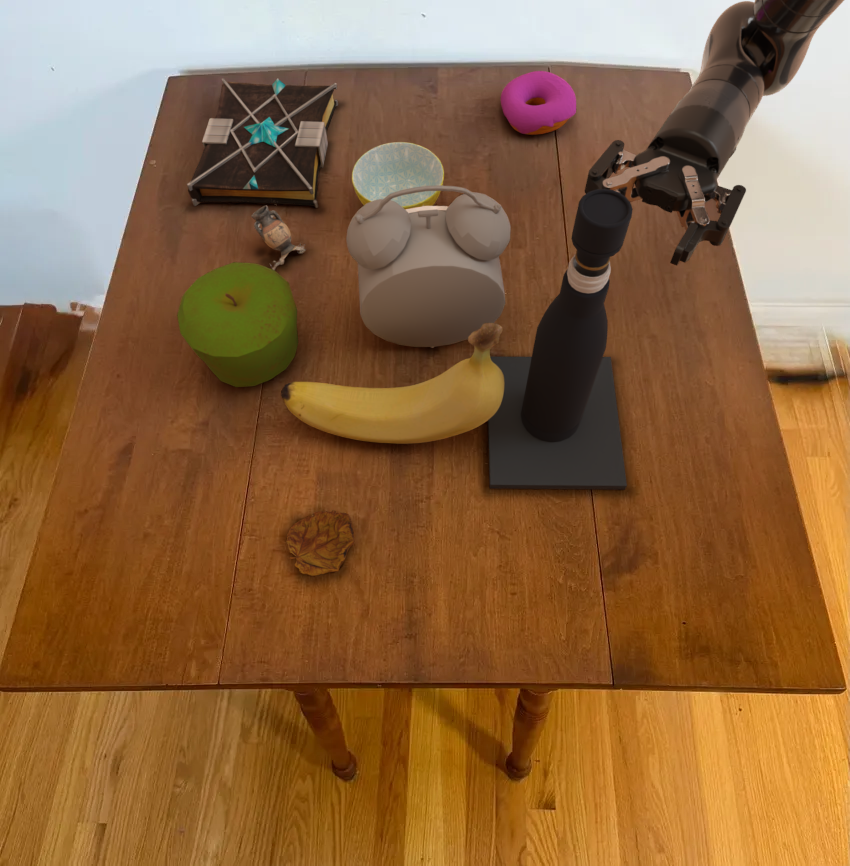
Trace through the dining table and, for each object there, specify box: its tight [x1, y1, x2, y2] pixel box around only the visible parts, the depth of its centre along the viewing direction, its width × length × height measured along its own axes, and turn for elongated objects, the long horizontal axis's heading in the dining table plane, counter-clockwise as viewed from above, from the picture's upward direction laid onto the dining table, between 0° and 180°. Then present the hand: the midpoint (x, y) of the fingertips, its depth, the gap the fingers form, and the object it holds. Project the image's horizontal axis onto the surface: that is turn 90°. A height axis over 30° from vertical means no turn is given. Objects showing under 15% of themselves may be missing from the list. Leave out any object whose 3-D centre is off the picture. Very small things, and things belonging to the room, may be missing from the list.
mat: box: [487, 356, 628, 491], centre depth 78 cm, size 14×16×1 cm
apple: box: [176, 261, 299, 388], centre depth 78 cm, size 12×12×11 cm
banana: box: [280, 322, 504, 445], centre depth 69 cm, size 23×6×20 cm, turn 84°
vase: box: [251, 205, 307, 270], centre depth 88 cm, size 5×5×6 cm
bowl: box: [351, 141, 445, 210], centre depth 91 cm, size 11×12×6 cm
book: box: [186, 77, 339, 209], centre depth 98 cm, size 22×17×5 cm
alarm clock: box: [345, 185, 512, 349], centre depth 75 cm, size 16×9×22 cm, turn 94°
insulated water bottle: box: [521, 189, 634, 442], centre depth 64 cm, size 6×6×30 cm
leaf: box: [285, 509, 355, 577], centre depth 71 cm, size 6×7×2 cm
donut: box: [500, 70, 577, 136], centre depth 100 cm, size 10×10×5 cm
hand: (632, 240), depth 67 cm, fingers open, 8 cm apart
